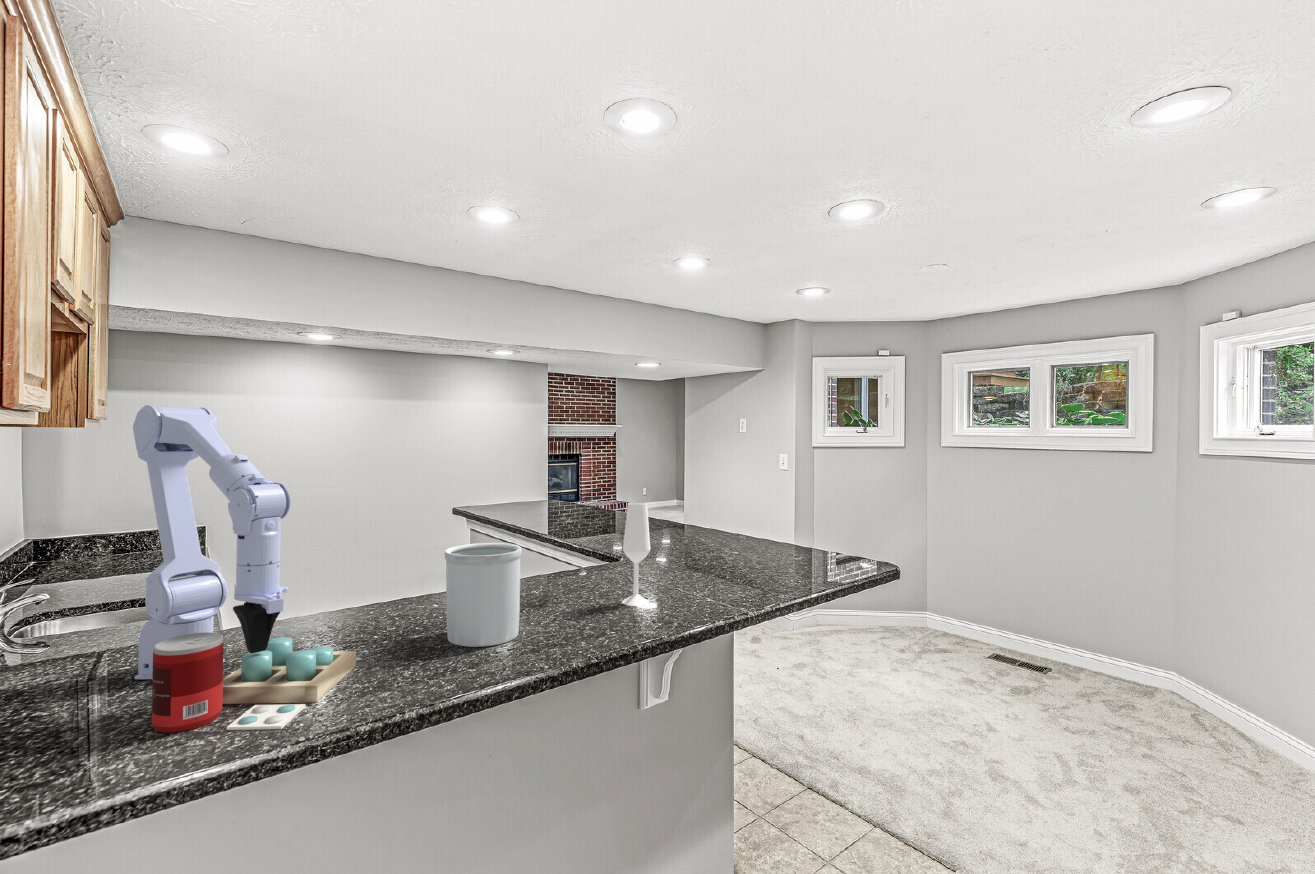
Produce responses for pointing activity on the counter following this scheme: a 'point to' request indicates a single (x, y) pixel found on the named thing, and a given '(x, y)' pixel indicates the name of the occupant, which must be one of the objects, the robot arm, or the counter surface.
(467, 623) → the utensil holder
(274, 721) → the tile
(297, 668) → the button
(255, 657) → the button
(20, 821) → the counter surface
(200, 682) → the canned food
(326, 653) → the button
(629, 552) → the champagne flute
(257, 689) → the wooden compartment tray
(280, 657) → the button
